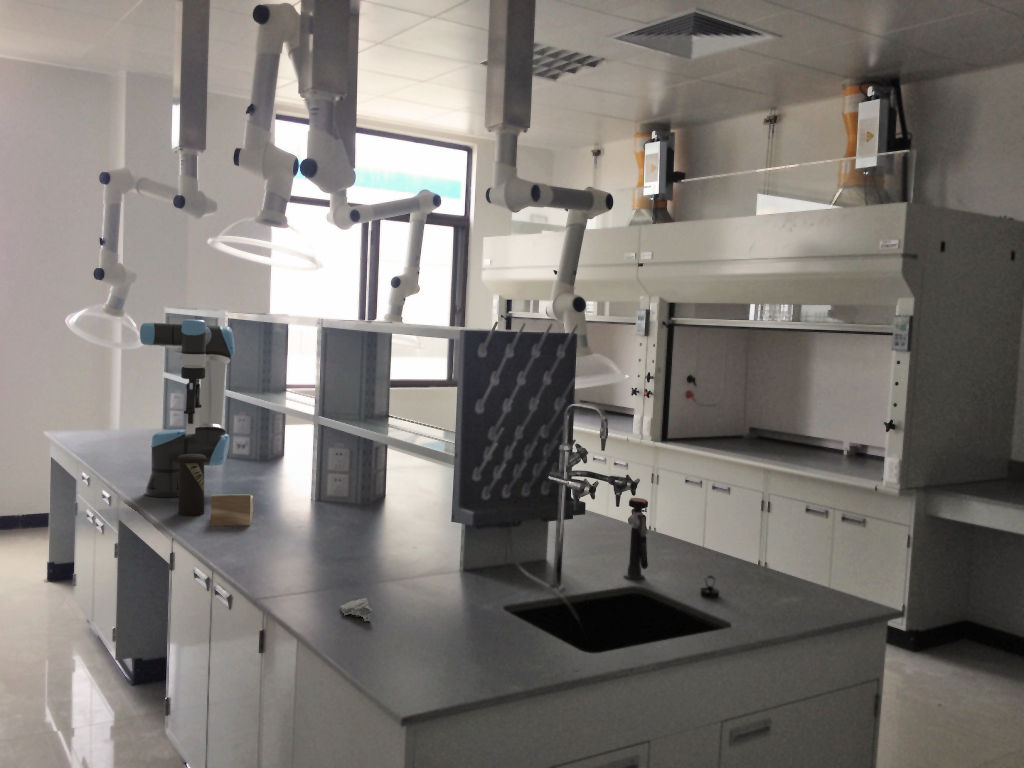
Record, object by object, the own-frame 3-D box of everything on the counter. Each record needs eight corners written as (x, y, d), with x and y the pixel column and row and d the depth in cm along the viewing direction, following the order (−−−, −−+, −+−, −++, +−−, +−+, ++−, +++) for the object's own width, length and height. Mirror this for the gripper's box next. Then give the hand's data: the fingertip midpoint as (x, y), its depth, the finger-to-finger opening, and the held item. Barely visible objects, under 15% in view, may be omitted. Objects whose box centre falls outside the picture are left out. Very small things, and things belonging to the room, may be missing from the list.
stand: (215, 513, 300) (216, 484, 299) (253, 513, 303) (253, 484, 302) (210, 525, 283) (211, 495, 283) (249, 525, 286) (250, 495, 285)
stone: (344, 627, 199) (345, 609, 199) (338, 607, 211) (339, 590, 210) (373, 625, 201) (374, 608, 201) (365, 606, 213) (366, 589, 212)
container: (196, 517, 294) (197, 457, 293) (171, 514, 296) (172, 455, 295) (210, 511, 303) (211, 453, 301) (186, 509, 304) (187, 451, 303)
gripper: (185, 363, 306) (184, 424, 308) (176, 369, 282) (176, 436, 284) (208, 363, 307) (207, 424, 310) (202, 370, 283) (201, 436, 285)
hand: (192, 430), depth 297 cm, fingers open, 13 cm apart
